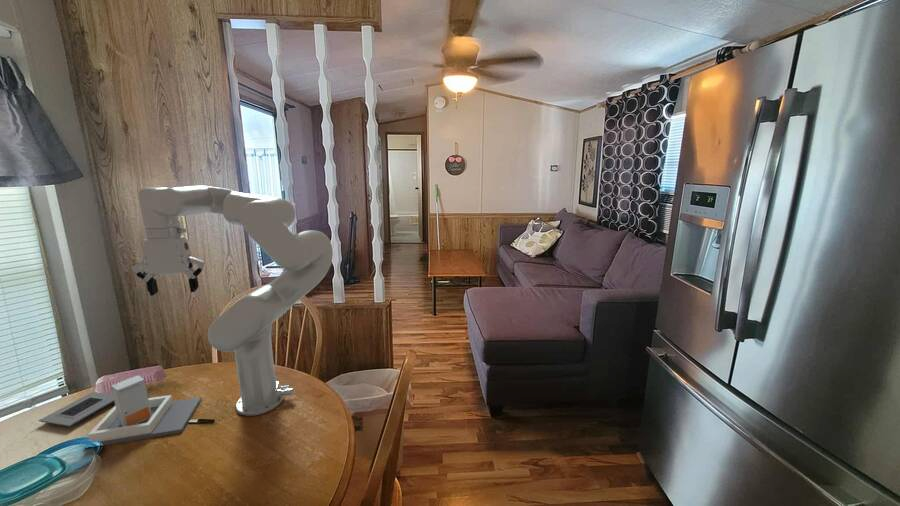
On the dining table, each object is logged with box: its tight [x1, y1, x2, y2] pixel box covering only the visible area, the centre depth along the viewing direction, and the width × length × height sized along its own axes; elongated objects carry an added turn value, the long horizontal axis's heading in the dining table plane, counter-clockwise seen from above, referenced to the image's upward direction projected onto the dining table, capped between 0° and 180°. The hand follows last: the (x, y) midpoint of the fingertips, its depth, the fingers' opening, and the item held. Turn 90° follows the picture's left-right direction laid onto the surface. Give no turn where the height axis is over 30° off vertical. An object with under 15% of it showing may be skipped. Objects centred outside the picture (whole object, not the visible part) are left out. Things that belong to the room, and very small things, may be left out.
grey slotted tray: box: [38, 391, 115, 427], centre depth 103 cm, size 13×10×2 cm
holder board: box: [87, 394, 202, 446], centre depth 99 cm, size 21×14×4 cm, turn 106°
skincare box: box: [110, 374, 152, 427], centre depth 97 cm, size 6×4×12 cm
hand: (174, 292), depth 102 cm, fingers open, 9 cm apart
